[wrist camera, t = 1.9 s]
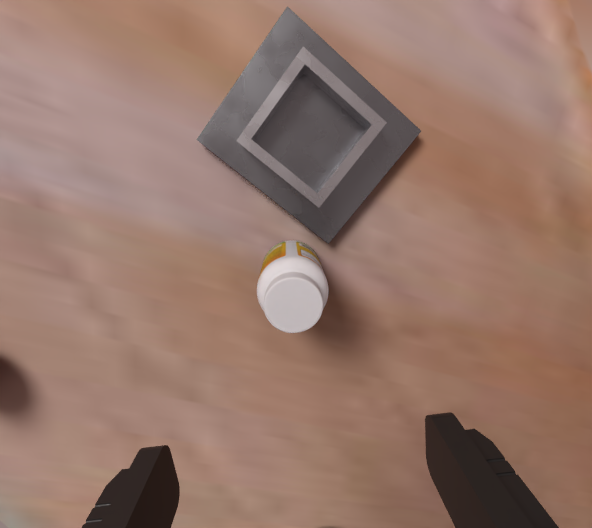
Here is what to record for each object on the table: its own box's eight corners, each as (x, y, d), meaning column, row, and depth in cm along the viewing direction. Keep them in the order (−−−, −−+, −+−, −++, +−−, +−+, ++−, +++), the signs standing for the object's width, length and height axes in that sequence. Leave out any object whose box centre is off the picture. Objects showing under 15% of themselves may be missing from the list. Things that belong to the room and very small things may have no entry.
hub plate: (415, 132, 28) (432, 127, 25) (326, 241, 31) (331, 248, 27) (287, 14, 26) (287, -10, 23) (200, 141, 28) (188, 136, 25)
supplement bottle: (263, 295, 32) (254, 344, 22) (261, 239, 31) (250, 267, 21) (319, 294, 32) (333, 342, 23) (320, 238, 31) (335, 266, 21)
